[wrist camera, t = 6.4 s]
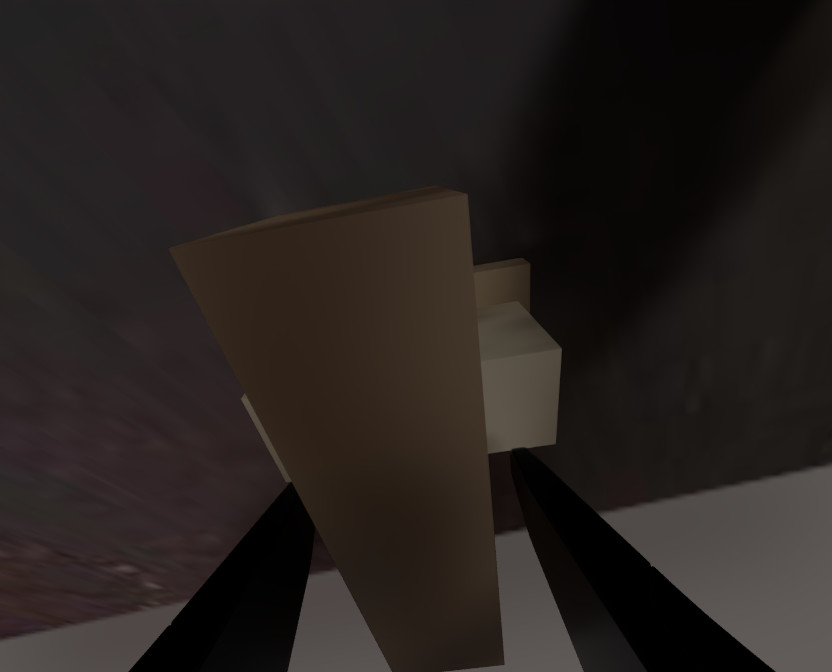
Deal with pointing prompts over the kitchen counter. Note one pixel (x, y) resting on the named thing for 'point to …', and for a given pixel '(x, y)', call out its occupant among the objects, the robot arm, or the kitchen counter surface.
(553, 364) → the beige stepped block
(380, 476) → the brown wooden bar
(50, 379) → the kitchen counter surface
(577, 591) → the robot arm
